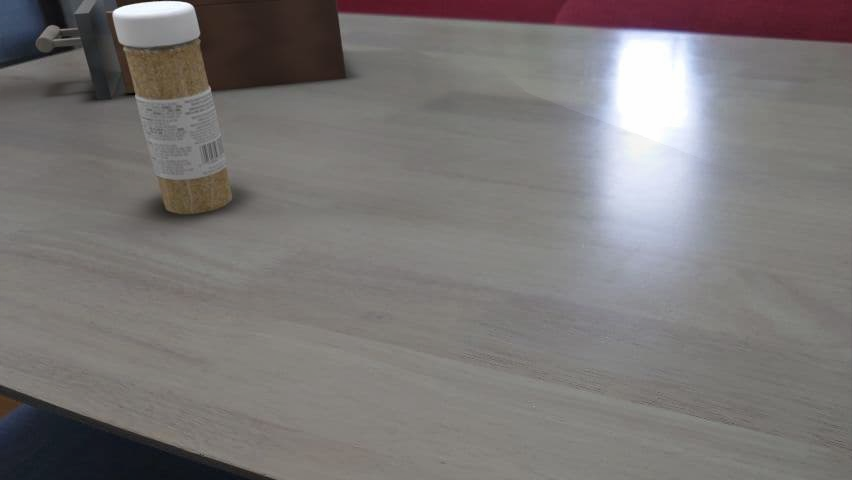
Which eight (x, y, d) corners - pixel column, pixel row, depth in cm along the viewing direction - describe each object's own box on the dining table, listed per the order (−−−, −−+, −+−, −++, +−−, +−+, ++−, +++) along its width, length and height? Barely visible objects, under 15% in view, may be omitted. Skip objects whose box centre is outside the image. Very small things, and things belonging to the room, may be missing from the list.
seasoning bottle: (206, 197, 58) (160, -4, 51) (252, 210, 56) (210, 2, 49) (150, 221, 54) (93, 8, 48) (197, 235, 52) (144, 15, 46)
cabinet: (193, 103, 78) (170, -3, 74) (194, 72, 89) (174, -22, 84) (347, 88, 83) (334, -13, 78) (331, 60, 93) (319, -30, 88)
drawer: (47, 106, 75) (19, 17, 71) (64, 76, 84) (41, -4, 80) (249, 86, 80) (233, 3, 76) (244, 61, 89) (230, -15, 85)
